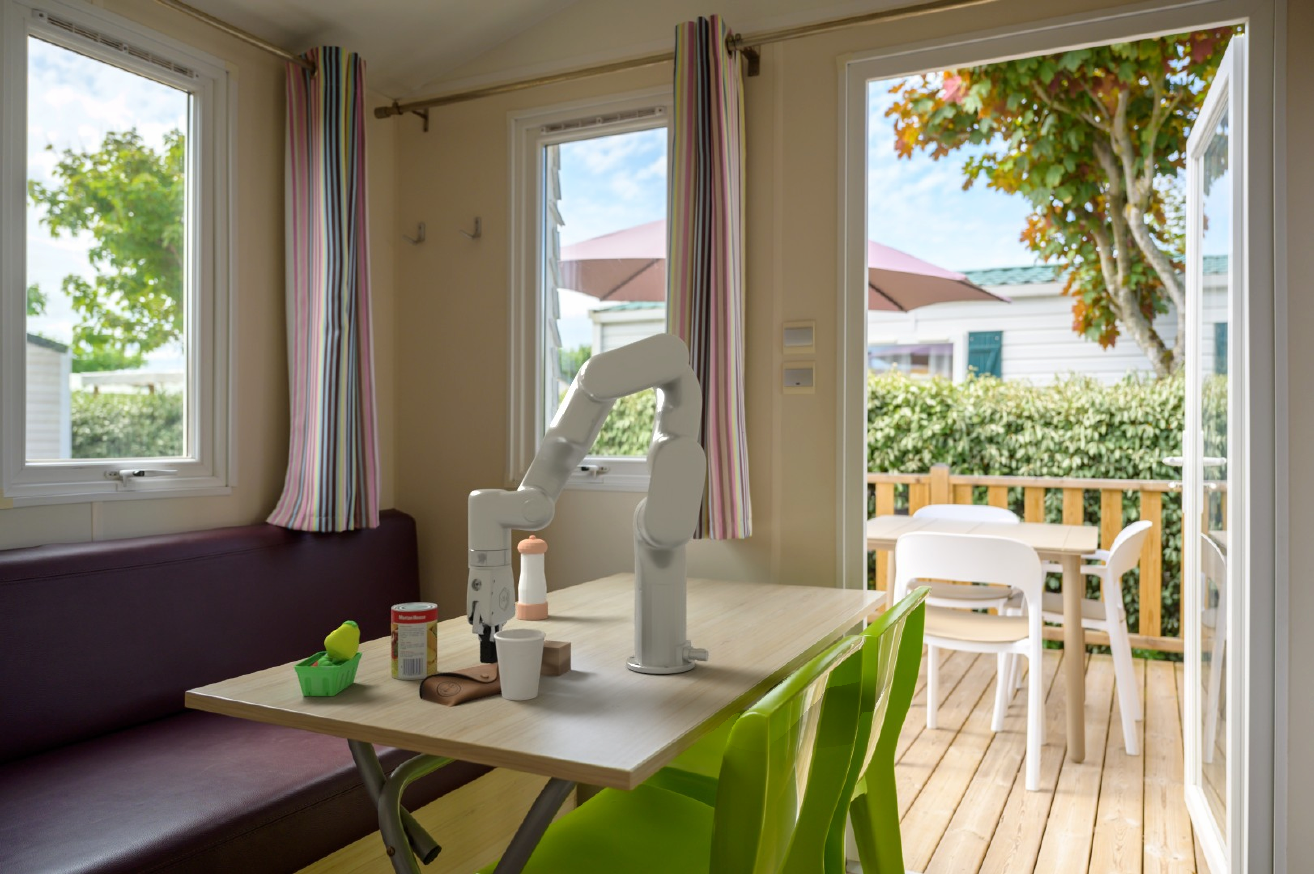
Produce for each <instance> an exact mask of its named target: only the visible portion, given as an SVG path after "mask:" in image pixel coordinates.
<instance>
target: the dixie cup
mask: <svg viewBox="0 0 1314 874" xmlns="http://www.w3.org/2000/svg"><path fill="white" fill-rule="evenodd" d="M546 636H547V633H546V632H545V631H544V630H540V629H535V628H511V629H509V628H508V629H504V630H503V629H502V631H499V632H497V633H495V634H494V638H495V640H496V648H497V657H498V665H499V674H500V683H501V690H502V693H501V697H502V698H503V699H505V700H507V701H526V700H532V699H535V698H536V697H538V694H539V693H538V692H539V687H540V685H539V684H540V677H541V674H540V670H541V662H542V653H543V645H544V641H545V638H546Z"/></svg>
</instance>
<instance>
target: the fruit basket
mask: <svg viewBox="0 0 1314 874" xmlns="http://www.w3.org/2000/svg"><path fill="white" fill-rule="evenodd" d="M360 636H361V631H360V629H359V625H358V623H357V622H355V621H353V620H347V621H345V622H343V623H342V624H341V626H340V627H337V629H336V630H333V631H332V632H330V634H329V635H327V636H326V638H325V640H324V643H323V644H324V647H325V649H326V650H325V651H319V652H316V653H315V654H313V655H312V656H310V657H307V658H305V659H304V660H302V661H300V662H299V663H297V664H295V665H293V668H294V670H295V671H294V672H295V673H296V675H297V678H298V682H299V686H300V689H301V693H302V695H303V697H310V696H311V697H334V696H336V695H337V694H339V693H341V692H342V691H343V690H344V689H346V688H348V687H349V686H351V685H352V684H354V683H355V679H356V676H357V671H358V668H359V663H360V661H361V659H362V656H363V652H361V651H359V647H360Z"/></svg>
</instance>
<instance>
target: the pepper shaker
mask: <svg viewBox="0 0 1314 874" xmlns="http://www.w3.org/2000/svg"><path fill="white" fill-rule="evenodd" d="M548 548H549V547H548V544H547V542H546V540H543V539H541V538H537V537H536V535H529V538H525V539H523V540H520V542H519V543H518V545H517V551H518V553H520V575H519V582H518V587H517V588H518V589H517V590H518V602H517V603H516V619H519V620H522V621H539V620H544V619H548V618H549V602H548V601H547V581H546V574H545V553H546V552H547V551H548ZM547 617H548V618H547Z"/></svg>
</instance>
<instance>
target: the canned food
mask: <svg viewBox="0 0 1314 874" xmlns="http://www.w3.org/2000/svg"><path fill="white" fill-rule="evenodd" d="M390 610H391V612H390V613H391V614H390V615H391V617H390V621H391V623H390V631H391V634H390V635H391V637H390V639H391V640H390V647H391V648H390V658H391V659H390V661H391V662H390V676H391V677H392V678H393V679H396V680H401V681H403V680H404V681H412V680H413V681H414V680H424V679H425V678H426V677H427V676H430V675H433V674H438V604H437V603H433V602H405V603H399V604H398V603H397V604H394V605H392V606H391V609H390Z"/></svg>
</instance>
